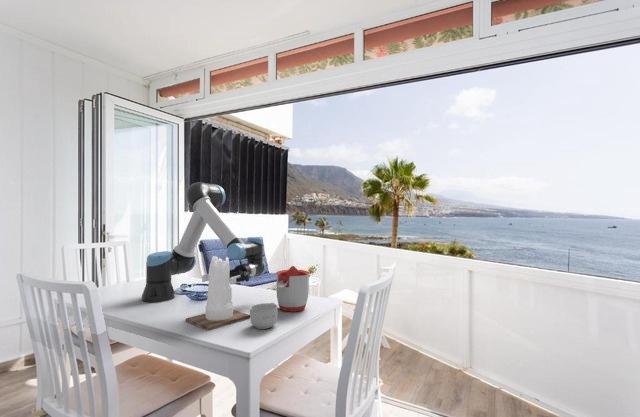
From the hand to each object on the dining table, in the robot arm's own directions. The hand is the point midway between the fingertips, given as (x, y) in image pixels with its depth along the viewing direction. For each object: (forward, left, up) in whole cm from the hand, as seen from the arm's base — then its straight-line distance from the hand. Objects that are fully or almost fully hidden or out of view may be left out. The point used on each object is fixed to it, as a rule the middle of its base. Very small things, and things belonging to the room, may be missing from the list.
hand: (216, 279), depth 136 cm
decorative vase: (-1, +2, -16) cm, 16 cm away
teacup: (+19, +10, -17) cm, 28 cm away
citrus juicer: (+11, +33, -17) cm, 39 cm away
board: (-1, +2, -17) cm, 17 cm away
